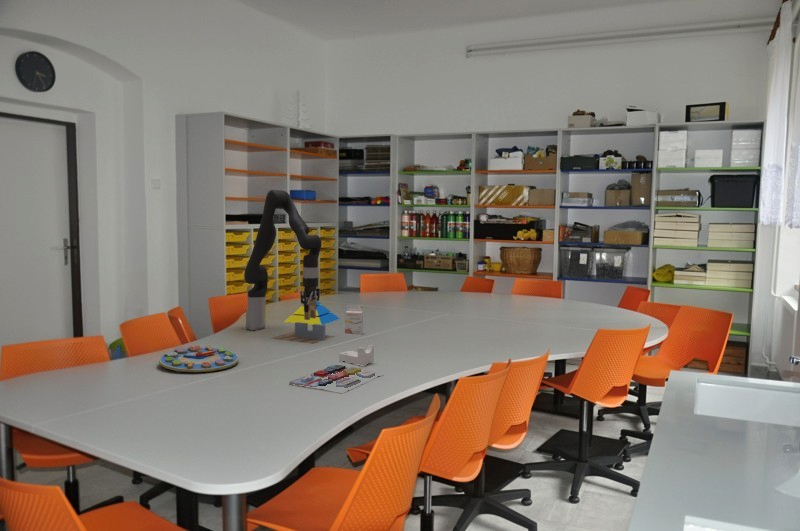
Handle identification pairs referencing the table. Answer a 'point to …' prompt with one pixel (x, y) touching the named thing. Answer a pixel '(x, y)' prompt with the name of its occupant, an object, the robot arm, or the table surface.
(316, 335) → the slate-blue slotted plate
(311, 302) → the oak slotted plate
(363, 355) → the bracket
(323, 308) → the pyramid toy
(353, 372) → the puzzle board
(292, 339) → the walnut base board
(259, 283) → the robot arm
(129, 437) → the table surface
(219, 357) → the shape sorting clock
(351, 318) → the ink cartridge box
